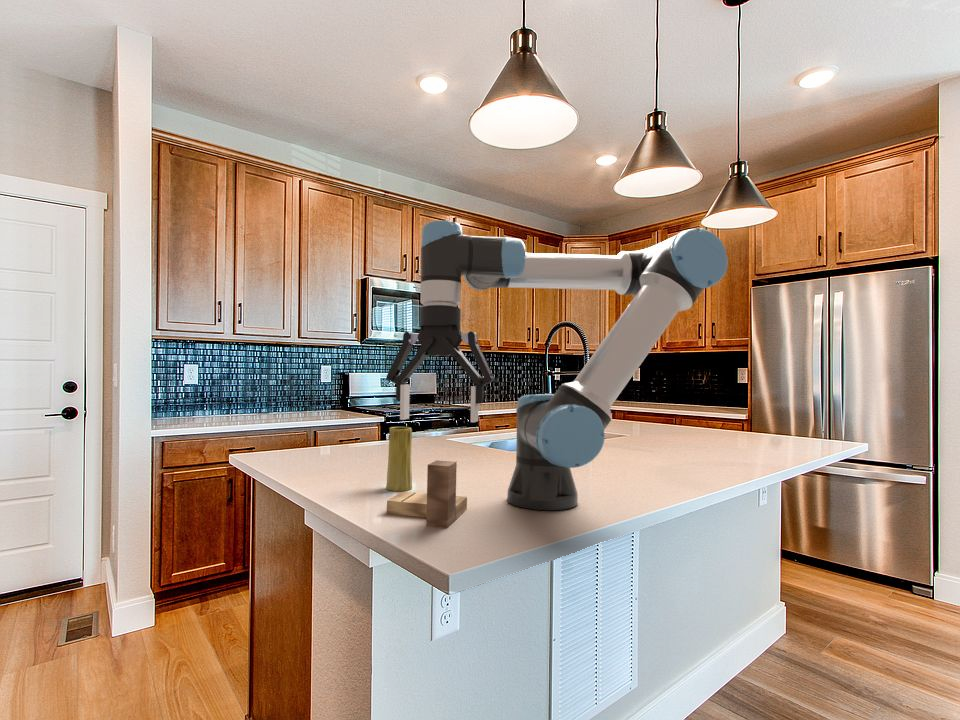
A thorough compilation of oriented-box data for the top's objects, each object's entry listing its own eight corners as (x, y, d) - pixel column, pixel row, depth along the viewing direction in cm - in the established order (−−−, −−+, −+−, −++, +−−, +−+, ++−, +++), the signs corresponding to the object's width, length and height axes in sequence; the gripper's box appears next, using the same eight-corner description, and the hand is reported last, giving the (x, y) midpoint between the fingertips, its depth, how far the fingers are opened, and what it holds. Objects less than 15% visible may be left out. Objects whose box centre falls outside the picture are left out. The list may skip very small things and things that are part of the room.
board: (466, 509, 107) (467, 496, 107) (455, 519, 99) (456, 506, 99) (402, 503, 110) (402, 491, 110) (386, 513, 102) (386, 500, 102)
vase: (405, 492, 120) (407, 429, 120) (381, 490, 122) (383, 428, 122) (416, 486, 126) (417, 427, 126) (392, 484, 128) (394, 426, 128)
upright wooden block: (462, 513, 103) (463, 457, 104) (447, 528, 94) (448, 466, 94) (442, 512, 104) (444, 456, 104) (426, 526, 95) (427, 464, 95)
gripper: (510, 307, 99) (508, 421, 98) (386, 309, 105) (384, 416, 104) (502, 302, 91) (500, 424, 91) (370, 304, 97) (368, 419, 97)
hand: (438, 420), depth 97 cm, fingers open, 13 cm apart
